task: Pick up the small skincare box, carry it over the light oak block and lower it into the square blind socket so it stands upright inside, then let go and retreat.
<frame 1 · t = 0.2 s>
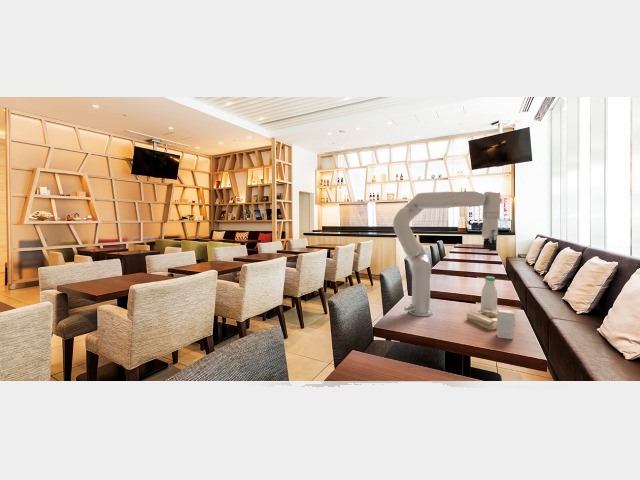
hand: (489, 249, 154), 37 cm above the table, tool pointing down, fingers open, 9 cm apart
skincare box: (504, 337, 135), on the table
socket block: (490, 322, 152), on the table
milk bottle: (488, 312, 167), on the table
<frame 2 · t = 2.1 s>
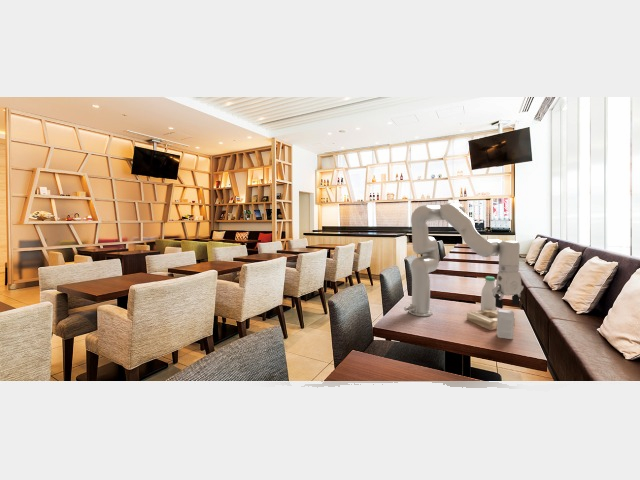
hand: (507, 306, 133), 14 cm above the table, tool pointing down, fingers open, 9 cm apart
nothing on the table moved.
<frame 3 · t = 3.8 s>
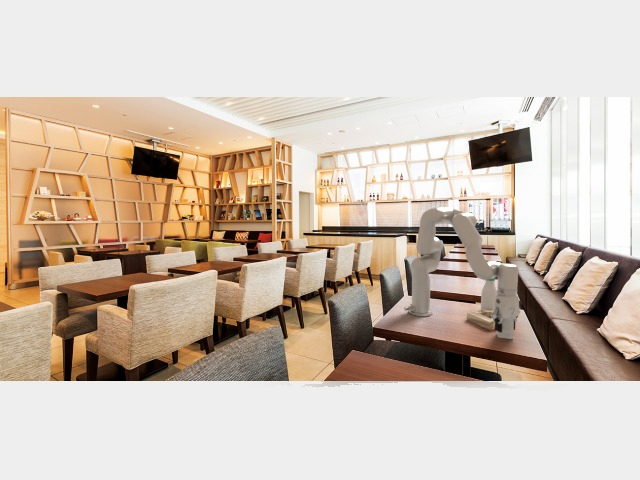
hand: (504, 329, 135), 3 cm above the table, tool pointing down, fingers closed on skincare box, 7 cm apart
skincare box: (504, 337, 135), on the table, touching gripper
everything else where it was.
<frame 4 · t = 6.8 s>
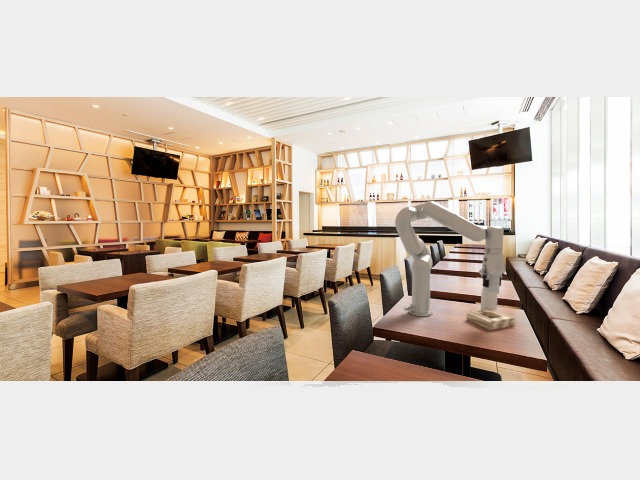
hand: (491, 285, 150), 19 cm above the table, tool pointing down, fingers closed on skincare box, 7 cm apart
skincare box: (491, 292, 150), point 16 cm above the table, touching gripper
everything else where it was.
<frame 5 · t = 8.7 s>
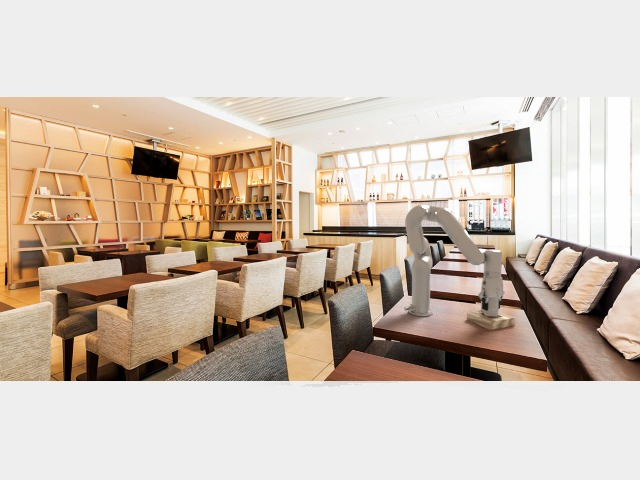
hand: (490, 308, 151), 7 cm above the table, tool pointing down, fingers closed on skincare box, 7 cm apart
skincare box: (490, 315, 152), point 4 cm above the table, touching gripper
everything else where it was.
when the fingers open (6 cm above the table, at t = 10.1 s): skincare box drops 1 cm, resting on socket block.
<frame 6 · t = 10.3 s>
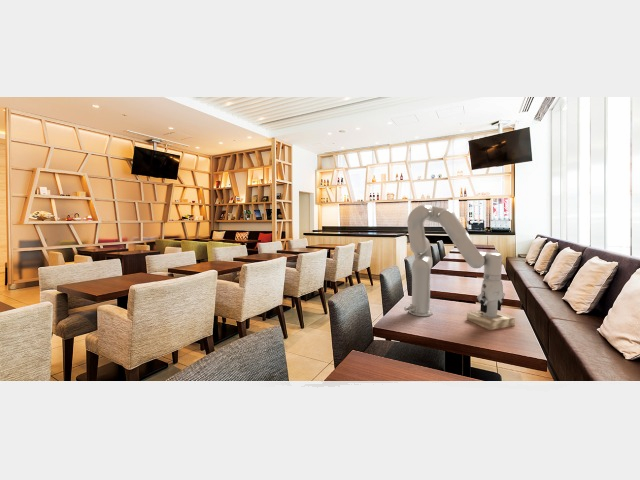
hand: (490, 310, 151), 6 cm above the table, tool pointing down, fingers open, 8 cm apart
skincare box: (489, 320, 152), point 1 cm above the table, touching socket block
everything else where it was.
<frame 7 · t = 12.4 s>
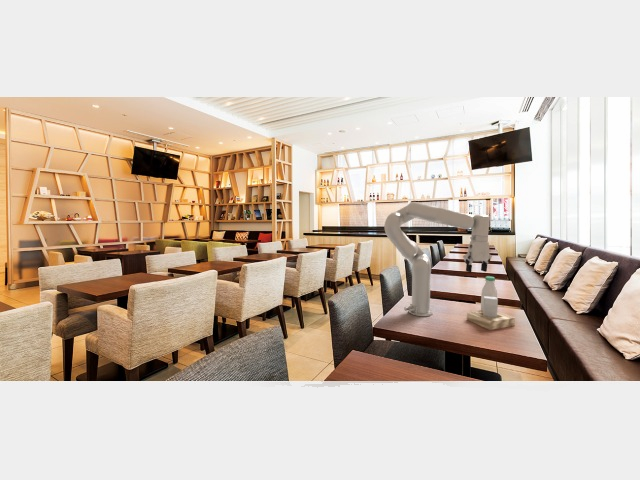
hand: (476, 271, 156), 25 cm above the table, tool pointing down, fingers open, 9 cm apart
nothing on the table moved.
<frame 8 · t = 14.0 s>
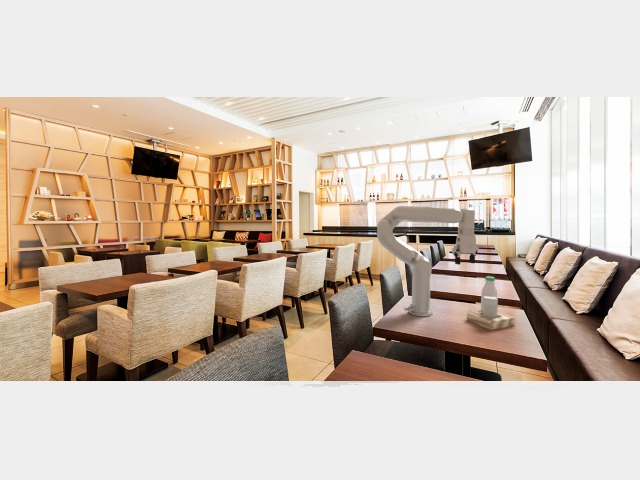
hand: (464, 263, 161), 28 cm above the table, tool pointing down, fingers open, 9 cm apart
nothing on the table moved.
at the end: skincare box 0.3 cm off-centre on the socket block, point 0.9 cm above the socket block's base; skincare box tilted 0°; the gripper is holding nothing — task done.
